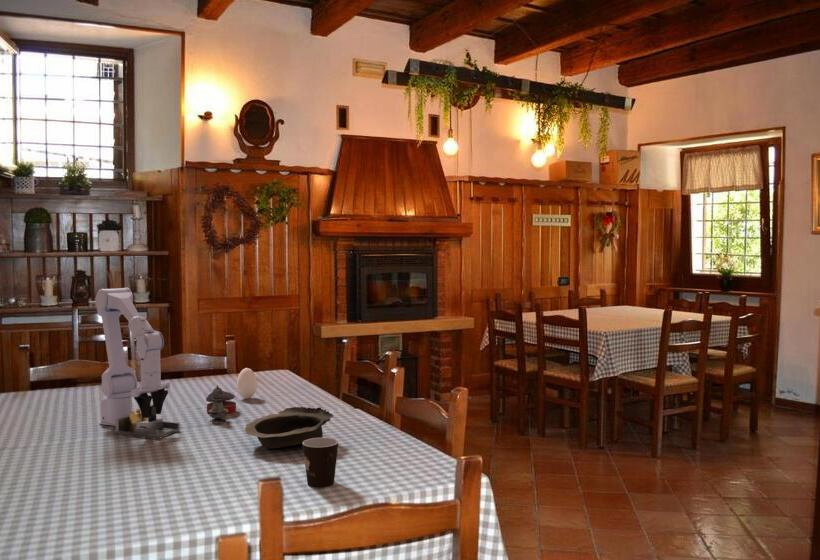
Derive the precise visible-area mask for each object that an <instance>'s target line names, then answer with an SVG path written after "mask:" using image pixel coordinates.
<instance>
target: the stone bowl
mask: <svg viewBox="0 0 820 560" xmlns="http://www.w3.org/2000/svg"><path fill="white" fill-rule="evenodd" d="M331 418H334V414H332V413H330V412H329V411H327V410H326V409H323V408H322V407H316V408H315V407H314V408H313V407H309V406H308V407H303V406H293V407H287V408H285V409H284V410H281V411H279V412H278V413H271V414H268V415H265V416H262V417H259V418H256V419H254V420H252V421H250V422H249V423H247V424H246V425H245V428H244V432H245V433H246V434H247V435H249V436H252V437H256V438H257V440H258V441H259V443H260V444H261V446H262V447H263V448H264V449H266V450H270V449H280V448H284V447H289V446H296V445H300V444H302V443H303V441H305V440H308V439H312V438H324V437H323V436H324V435H323V434H324V433H323V425H326V424H327V423H328V422H330V421H331Z"/></svg>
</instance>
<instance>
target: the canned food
mask: <svg viewBox="0 0 820 560" xmlns="http://www.w3.org/2000/svg"><path fill="white" fill-rule="evenodd" d="M222 398H223V400H222V405H223V408H224V409H227V411H226V414H225V416H228V415H227V414H229V415H233V414H235V413H236V412H237V402H235V401H232V400H234V399H235V398H236V396H235V395H234V393H231V392H228V391H225V390H222ZM212 399H213V391H212V392H210V394H208V396H207V397H206V398H205V401H206V402H207V404H206V414H207V415H209V414H210V412H209V410H211V409H212V408H213V400H212ZM208 402H209V403H208ZM232 413H233V414H232Z"/></svg>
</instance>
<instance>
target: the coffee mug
mask: <svg viewBox="0 0 820 560" xmlns="http://www.w3.org/2000/svg"><path fill="white" fill-rule="evenodd" d="M301 444H302V452H303V460H304V466H305V473H306V482H307V486H309V487H311V488H316V489H318V488H319V489H322V488H329V487H331V486H333V485H334V484H335V478H336V469H337V468H336V467H337V458H338V450H339V449H338V447H339V440H338V439H336V438H333V437H323V438H312V439H308V440H305V441H303V443H301Z"/></svg>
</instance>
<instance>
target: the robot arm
mask: <svg viewBox="0 0 820 560" xmlns="http://www.w3.org/2000/svg"><path fill="white" fill-rule="evenodd" d="M132 292H133V291H132V290H131V289H130V288H129V287H121V288H117V287H116V288H99V289H98V291H97V292H96V295H95V305H96V311H97V315H98V316H99V317H101V321H102V327H103V334H104V340H105V347H106V353H107V360H108V367H107V369H106V370H105V371H104V372H103V373H102V374H101V385H100V386H101V392H102V394H103V395H104V397H102V399H101V400H100V407H99V408H100V410H99V411H100V421H99V422H98V425H105V426H106V425H107V426H114V427H116V421H115V419H119V418H122V417H126V416H129V415H130V412H133V399H134V400H135V401H136V404H137V405H138V407H139V408H138V409H140V410H141V414H142V417H143V418H147V419H148V418H149V416H150V405H156V415H161V413H162V410H163V407H164V403H165V401H166V397H167V396H168V395H169V390H166V389H170V388H171V381H163V382H162V381H161V380H162V379H161V377H162V376H161V375H162V373H161V372H162V370H161V368H162V367H161V351H162V350H163V348H164V346H165V339H164V336H163V334H162V332H160V331H158V330H154V329H153V327H152V325H151V324H150V323H149V322H148V320H147V318H146V317H144V316H141V315H140V313H139V312H138V310H137V308H136V306H135V305H134V303H133V302H134V301H133V300H134V296H133V295H134V294H133V293H132ZM121 315H122V316H124V318H125V319H126V320H127V321H128V329H129V331H130V332H131V334H132V335H133V336H134V338H135V340H136V342H135V343H136V345H135V346H136V349H137V352H138V357H139V358H140V383H141V384H140V386H138V385H139V383H138V379H137V375H136V374H135V369H134V368H132V367H130V366H128V365H127V364H126V358H125V349H124V344H123V337H122V331H121V325H120V317H121ZM149 394H150V395H149ZM151 403H152V404H151Z"/></svg>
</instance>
